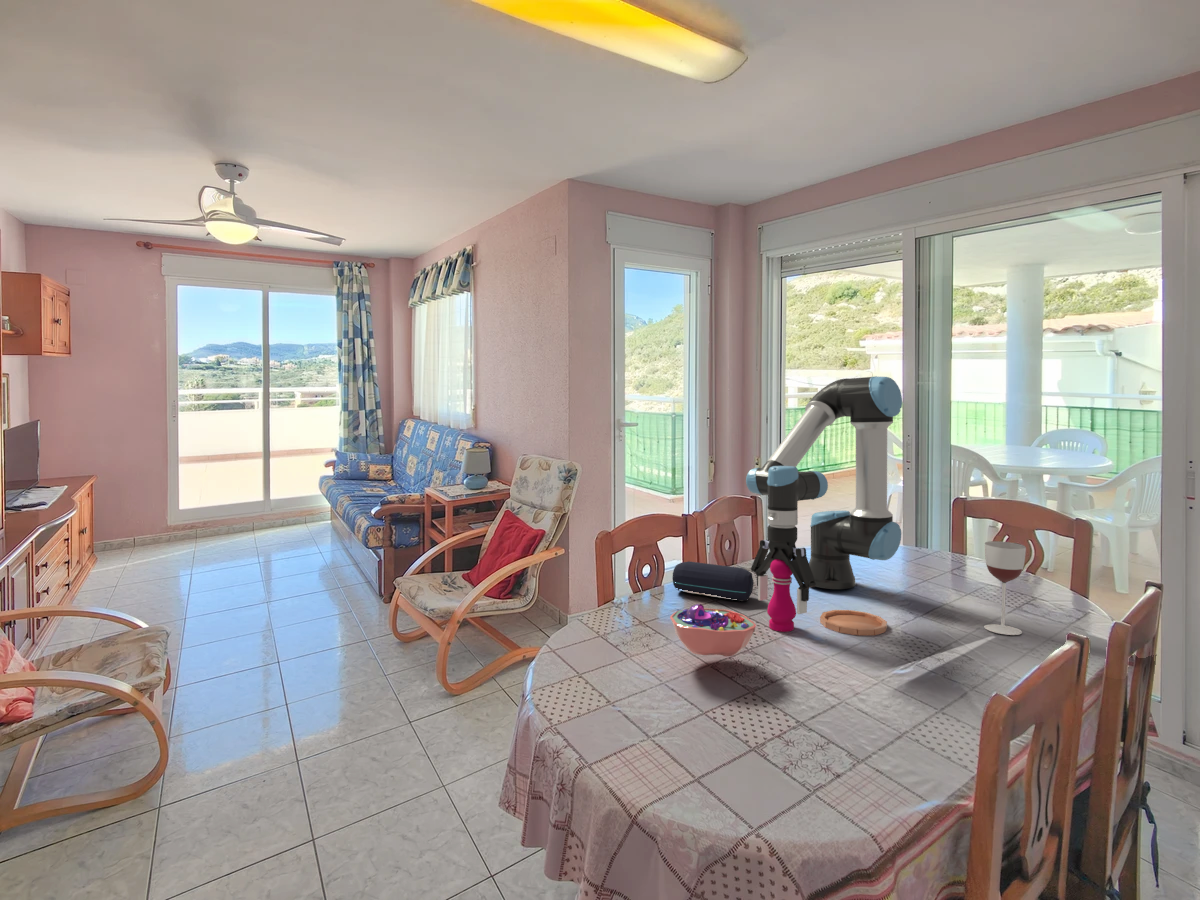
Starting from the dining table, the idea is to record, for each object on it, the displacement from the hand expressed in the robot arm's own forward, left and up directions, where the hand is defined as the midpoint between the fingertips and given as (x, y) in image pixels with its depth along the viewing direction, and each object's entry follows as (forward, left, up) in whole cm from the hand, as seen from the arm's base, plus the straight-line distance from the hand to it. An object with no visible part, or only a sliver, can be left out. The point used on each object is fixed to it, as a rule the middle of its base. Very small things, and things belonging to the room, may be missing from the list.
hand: (781, 606), depth 161 cm
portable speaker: (-32, +4, -6) cm, 32 cm away
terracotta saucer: (+8, +18, -6) cm, 21 cm away
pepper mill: (0, 0, -6) cm, 6 cm away
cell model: (+4, -27, -6) cm, 28 cm away
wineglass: (+30, +48, -6) cm, 57 cm away
